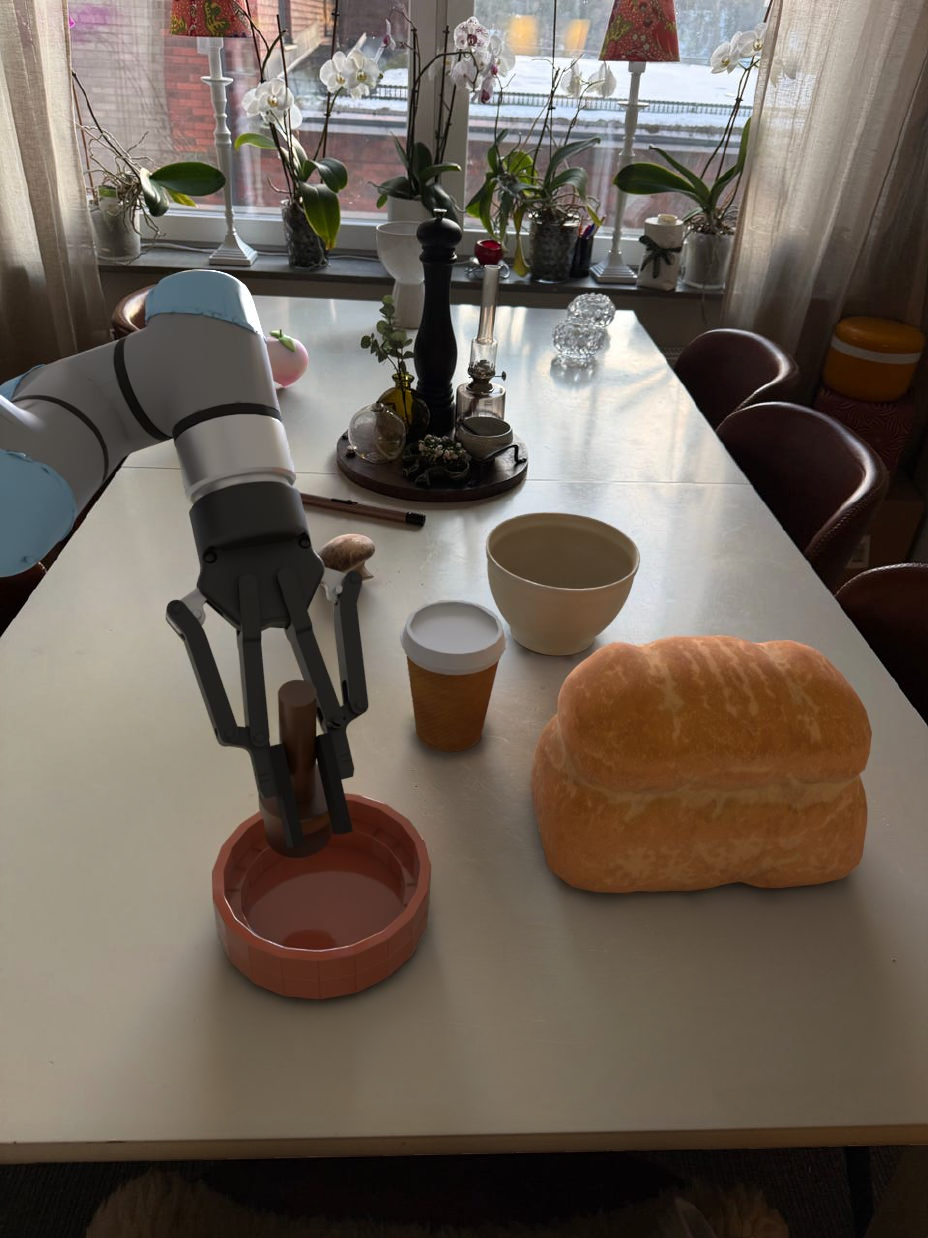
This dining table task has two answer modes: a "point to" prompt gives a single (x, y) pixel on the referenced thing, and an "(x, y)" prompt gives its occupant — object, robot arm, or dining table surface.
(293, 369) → the decorative fruit
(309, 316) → the dining table surface
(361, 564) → the mushroom
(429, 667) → the disposable coffee cup
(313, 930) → the bowl
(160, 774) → the dining table surface
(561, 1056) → the dining table surface
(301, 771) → the brush
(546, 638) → the planter bowl
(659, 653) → the bread
